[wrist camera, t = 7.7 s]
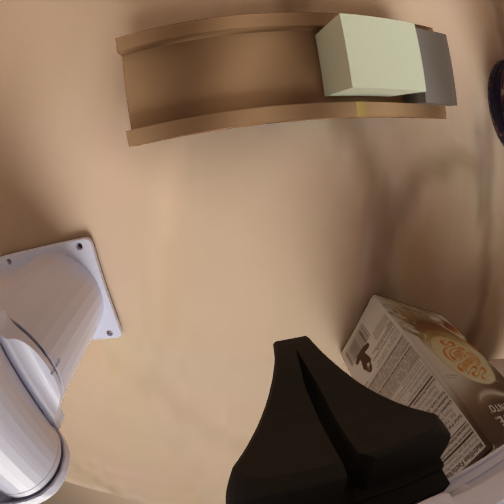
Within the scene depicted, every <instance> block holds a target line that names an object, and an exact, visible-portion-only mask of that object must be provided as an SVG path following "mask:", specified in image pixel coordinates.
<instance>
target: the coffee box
mask: <svg viewBox="0 0 504 504" xmlns="http://www.w3.org/2000/svg"><path fill="white" fill-rule="evenodd" d="M341 355H342V357H343V359H344V361H345V363H346V365H347V367H348V369H349V371H350V373H351V375H352V377H353V379H355V380H356V381H358V382H359V383H361V384H362V385H364V386H366V387H367V388H369V389H370V390H372V391H374V392H376V393H378V394H380V395H382V396H384V397H386V398H388V399H391V400H393V401H395V402H397V403H400V404H403V405H406V406H408V407H411V408H414V409H418V410H422V411H426V412H430V413H434V414H436V415H437V416H438V417H439V418H440V420H441V421H442V422H443V423H444V425H445V426H446V427H447V429H448V430H449V432H450V434H451V438H450V441H449V444H448V446H447V447H446V449H445V451H444V453H443V454H442V456H441V460H442V462H443V463H444V467H443V468H442V470H443V472H444V473H445V475H446V477H447V478H449V477H451V476H453V475H455V474H457V473H458V472H460V471H462V470H464V469H465V468H467V467H469V466H471V465H472V464H474V463H476V462H477V461H479V460H481V459H482V458H484V457H485V456H487V455H488V454H490V453H491V452H493V451H495V450H496V449H497V448H499V447H500V446H502V445H503V444H504V377H503V376H502V375H501V374H500V373H499V372H498V371H497V370H496V369H495V367H494V366H493V365H492V364H491V363H490V362H489V361H488V360H487V359H486V358H485V357H484V356H483V355H482V354H481V353H480V352H479V351H478V350H477V349H476V348H475V347H474V346H473V345H472V344H471V343H470V342H469V341H468V340H467V339H466V338H465V337H464V336H463V335H462V334H461V333H460V332H459V331H458V330H457V329H456V328H455V327H454V326H453V325H452V324H451V323H450V322H448V321H447V320H446V319H445V318H444V317H443V316H442V315H439V314H436V313H433V312H430V311H426V310H423V309H420V308H416V307H413V306H410V305H407V304H403V303H400V302H397V301H394V300H391V299H387V298H384V297H381V296H378V295H373V296H372V297H371V299H370V301H369V303H368V305H367V307H366V309H365V311H364V313H363V314H362V316H361V318H360V320H359V322H358V324H357V326H356V327H355V329H354V331H353V333H352V335H351V337H350V338H349V340H348V342H347V344H346V345H345V347H344V349H343V351H342V352H341Z"/></svg>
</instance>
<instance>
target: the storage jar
mask: <svg viewBox="0 0 504 504" xmlns="http://www.w3.org/2000/svg"><path fill="white" fill-rule="evenodd" d="M488 99H489V108H490V113H491V118H492V122H493V125H494V128H495V131H496V133H497V135H498V137H499V139H500V141H501V143H502V144H503V146H504V60H500V61H499V62H497V63H496V64H495V65H494V67H493V69H492V71H491V74H490V78H489V85H488Z"/></svg>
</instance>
